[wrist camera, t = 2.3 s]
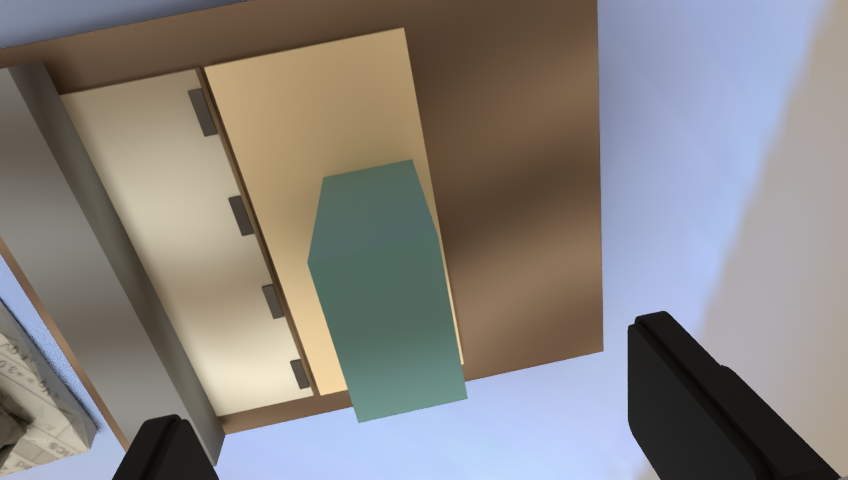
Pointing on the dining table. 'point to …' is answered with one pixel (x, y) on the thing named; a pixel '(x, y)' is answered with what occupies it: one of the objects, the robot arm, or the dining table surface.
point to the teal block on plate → (349, 215)
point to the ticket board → (236, 218)
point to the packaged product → (35, 406)
